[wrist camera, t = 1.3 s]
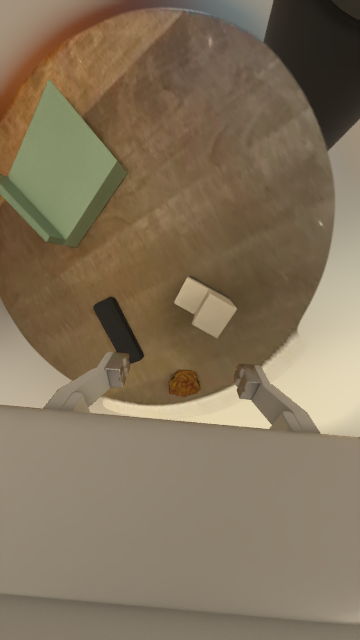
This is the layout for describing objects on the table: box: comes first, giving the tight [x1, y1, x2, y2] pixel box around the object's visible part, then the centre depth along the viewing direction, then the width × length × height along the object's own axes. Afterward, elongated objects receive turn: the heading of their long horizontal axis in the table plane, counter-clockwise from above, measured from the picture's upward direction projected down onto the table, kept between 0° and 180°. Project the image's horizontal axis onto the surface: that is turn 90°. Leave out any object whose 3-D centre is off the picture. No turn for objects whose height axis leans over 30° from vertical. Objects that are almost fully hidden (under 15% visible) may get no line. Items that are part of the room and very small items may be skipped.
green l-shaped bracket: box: [0, 79, 127, 247], centre depth 24 cm, size 16×13×6 cm
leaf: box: [169, 370, 200, 397], centre depth 34 cm, size 6×7×2 cm
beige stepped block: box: [174, 276, 237, 338], centre depth 25 cm, size 8×5×9 cm, turn 62°
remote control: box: [93, 297, 144, 364], centre depth 33 cm, size 5×2×15 cm
